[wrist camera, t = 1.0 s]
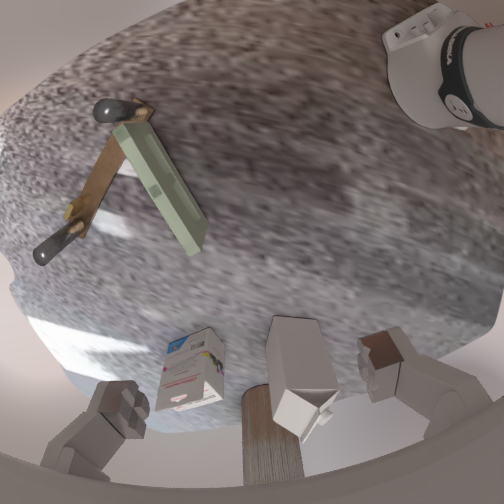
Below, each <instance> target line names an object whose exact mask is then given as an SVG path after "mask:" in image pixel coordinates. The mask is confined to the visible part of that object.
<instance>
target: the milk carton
mask: <svg viewBox="0 0 504 504" xmlns="http://www.w3.org/2000/svg"><path fill="white" fill-rule="evenodd" d="M265 351H266V360H267V370H268V379H269V388H270V398H271V407H272V416H273V421H275V422H276V423H278V424H279V425H281V426H282V427H284V428H286V429H287V430H289V431H290V432H292V433H293V434H295V435H297V436H298V437H300V439H301V444H303V443H304V442H305V440H306V439H307V437H308V435H309V434H310V432H311V431H312V429H313V428H314V426H316V425H317V424H318V423H319V424H320V425H321V426H322V425H324V424H325V423H326V422H327V421H328V420H329V419H330V418H331V416H332V415H333V413H332V412H331V411H329V410H328V409H329V407H330V405H331V404H332V402H333V400H334V399H335V397H336V395H337V394H338V392H339V390H340V389H339V385H338V382H337V379H336V376H335V373H334V370H333V367H332V364H331V361H330V358H329V355H328V352H327V349H326V346H325V343H324V340H323V337H322V334H321V331H320V328H319V326H318V323H317V320H312V319H302V318H291V317H281V316H274V317H273V321H272V324H271V328H270V332H269V335H268V339H267V343H266V346H265Z"/></svg>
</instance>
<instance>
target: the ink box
mask: <svg viewBox="0 0 504 504" xmlns="http://www.w3.org/2000/svg"><path fill="white" fill-rule="evenodd" d="M224 362H225V345H224V344H223V342H222V341H221V340H220V339H219V337H218V336H217V335H216V334H215V332H214V331H213V330H212V329H211V328H207V329H205V330H202V331H200V332H197V333H195V334H192V335H190V336H187V337H185V338H182V339H180V340H177V341H175V342H172V343H170V344H169V348H168V352H167V356H166V360H165V364H164V368H163V372H162V377H161V381H160V385H159V389H158V394H157V395H158V397H157V402H156V407H155V412H159V411H163V410H167V409H171V408H173V409H174V410H175V411H176V412H179V411H183V410H187V409H191V408H195V407H198V406H202V405H206V404H209V403H213V402H216V401H220V400H223V395H224Z"/></svg>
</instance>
